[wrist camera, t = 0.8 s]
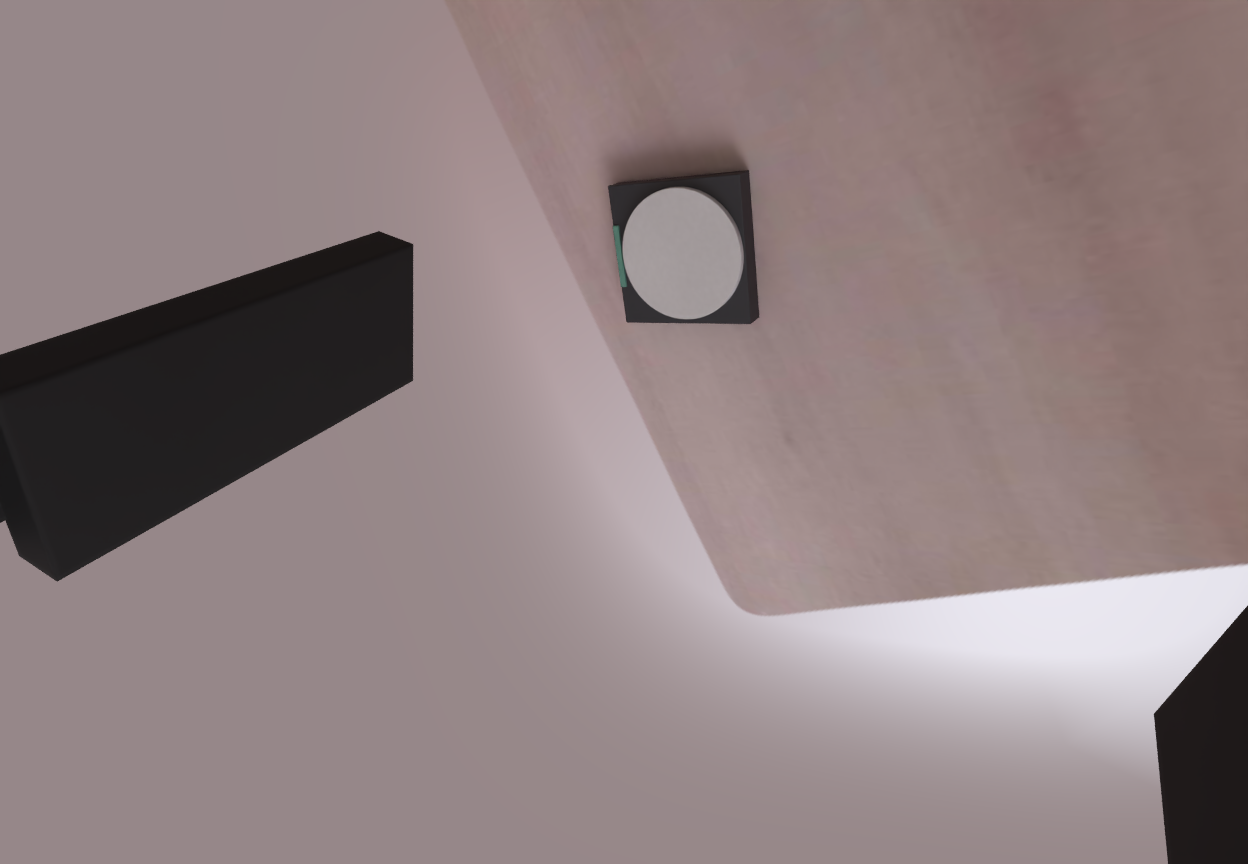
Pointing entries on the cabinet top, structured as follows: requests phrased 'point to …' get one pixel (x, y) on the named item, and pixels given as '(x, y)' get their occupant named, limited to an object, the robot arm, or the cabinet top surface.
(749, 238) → the kitchen scale
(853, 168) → the cabinet top surface
